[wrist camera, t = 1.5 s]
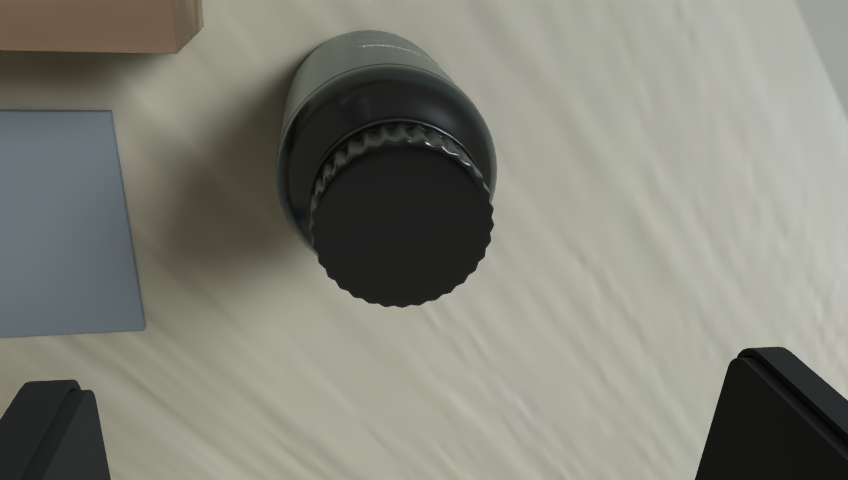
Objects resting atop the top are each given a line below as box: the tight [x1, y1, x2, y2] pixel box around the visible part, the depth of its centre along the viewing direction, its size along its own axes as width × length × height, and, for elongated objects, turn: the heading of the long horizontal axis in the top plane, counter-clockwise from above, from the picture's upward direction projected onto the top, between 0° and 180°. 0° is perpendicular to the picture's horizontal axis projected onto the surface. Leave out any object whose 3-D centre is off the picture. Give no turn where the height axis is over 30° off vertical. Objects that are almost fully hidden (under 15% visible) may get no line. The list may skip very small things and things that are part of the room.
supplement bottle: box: [276, 30, 497, 308], centre depth 22 cm, size 7×7×12 cm
